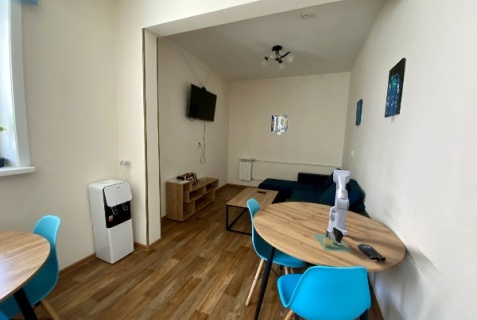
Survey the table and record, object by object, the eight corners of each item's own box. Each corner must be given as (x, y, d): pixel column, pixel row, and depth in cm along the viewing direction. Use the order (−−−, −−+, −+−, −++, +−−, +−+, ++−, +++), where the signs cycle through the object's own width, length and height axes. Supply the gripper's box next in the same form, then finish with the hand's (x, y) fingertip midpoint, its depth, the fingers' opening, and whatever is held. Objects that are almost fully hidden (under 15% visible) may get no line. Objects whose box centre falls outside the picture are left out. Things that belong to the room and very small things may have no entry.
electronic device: (386, 264, 107) (368, 246, 121) (388, 256, 105) (369, 238, 120) (369, 266, 107) (353, 247, 121) (370, 257, 105) (354, 239, 120)
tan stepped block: (322, 244, 119) (323, 237, 118) (333, 245, 119) (333, 238, 118) (324, 247, 116) (325, 240, 115) (335, 247, 116) (336, 241, 115)
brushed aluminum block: (328, 239, 125) (329, 237, 125) (336, 240, 125) (337, 237, 125) (332, 244, 119) (333, 241, 119) (341, 245, 119) (341, 242, 119)
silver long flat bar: (327, 233, 130) (328, 231, 130) (331, 233, 130) (331, 232, 130) (338, 244, 115) (338, 243, 115) (342, 245, 115) (342, 243, 115)
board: (312, 235, 132) (313, 228, 132) (337, 237, 132) (338, 229, 131) (324, 252, 113) (325, 244, 112) (353, 254, 112) (354, 246, 111)
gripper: (328, 214, 124) (326, 234, 125) (339, 223, 110) (336, 247, 111) (340, 214, 124) (337, 235, 125) (352, 224, 109) (349, 248, 111)
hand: (338, 241), depth 118 cm, fingers closed on silver long flat bar
